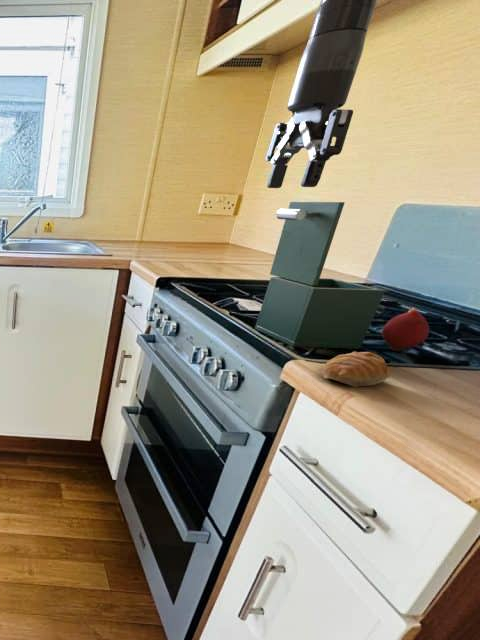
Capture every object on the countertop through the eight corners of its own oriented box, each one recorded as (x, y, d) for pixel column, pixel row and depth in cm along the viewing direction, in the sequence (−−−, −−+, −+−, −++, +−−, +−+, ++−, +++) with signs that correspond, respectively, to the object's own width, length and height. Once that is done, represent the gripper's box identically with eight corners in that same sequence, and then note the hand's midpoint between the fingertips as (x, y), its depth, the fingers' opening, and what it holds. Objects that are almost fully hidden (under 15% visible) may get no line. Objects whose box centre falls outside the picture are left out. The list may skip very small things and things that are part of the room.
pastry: (361, 393, 59) (372, 368, 58) (307, 376, 64) (316, 353, 63) (388, 381, 63) (399, 358, 62) (335, 367, 69) (344, 345, 67)
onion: (412, 349, 78) (433, 307, 75) (421, 358, 74) (444, 314, 71) (371, 343, 81) (390, 302, 78) (378, 351, 77) (398, 308, 73)
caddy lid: (294, 201, 79) (267, 201, 79) (345, 202, 68) (313, 202, 68) (273, 274, 84) (248, 274, 84) (317, 285, 73) (288, 285, 73)
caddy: (313, 330, 89) (333, 278, 84) (360, 348, 78) (385, 290, 74) (254, 328, 89) (270, 276, 84) (292, 346, 78) (314, 288, 74)
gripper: (390, 60, 59) (345, 187, 66) (315, 85, 72) (283, 188, 79) (337, 59, 59) (297, 186, 66) (271, 83, 72) (243, 187, 79)
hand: (289, 187), depth 72 cm, fingers open, 8 cm apart
